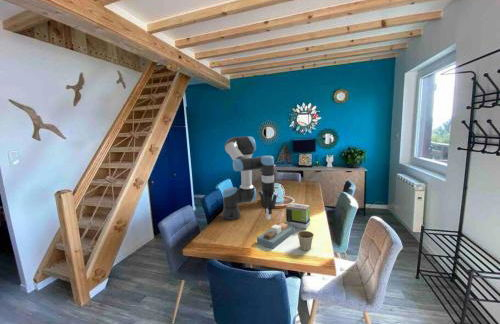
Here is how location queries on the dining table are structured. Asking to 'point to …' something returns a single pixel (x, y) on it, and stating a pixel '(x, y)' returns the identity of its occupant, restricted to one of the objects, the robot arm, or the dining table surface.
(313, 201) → the dining table surface
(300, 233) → the flower pot
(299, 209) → the tea box
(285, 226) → the terracotta key
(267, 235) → the walnut key
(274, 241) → the grey slotted tray
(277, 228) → the cream key
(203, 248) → the dining table surface
